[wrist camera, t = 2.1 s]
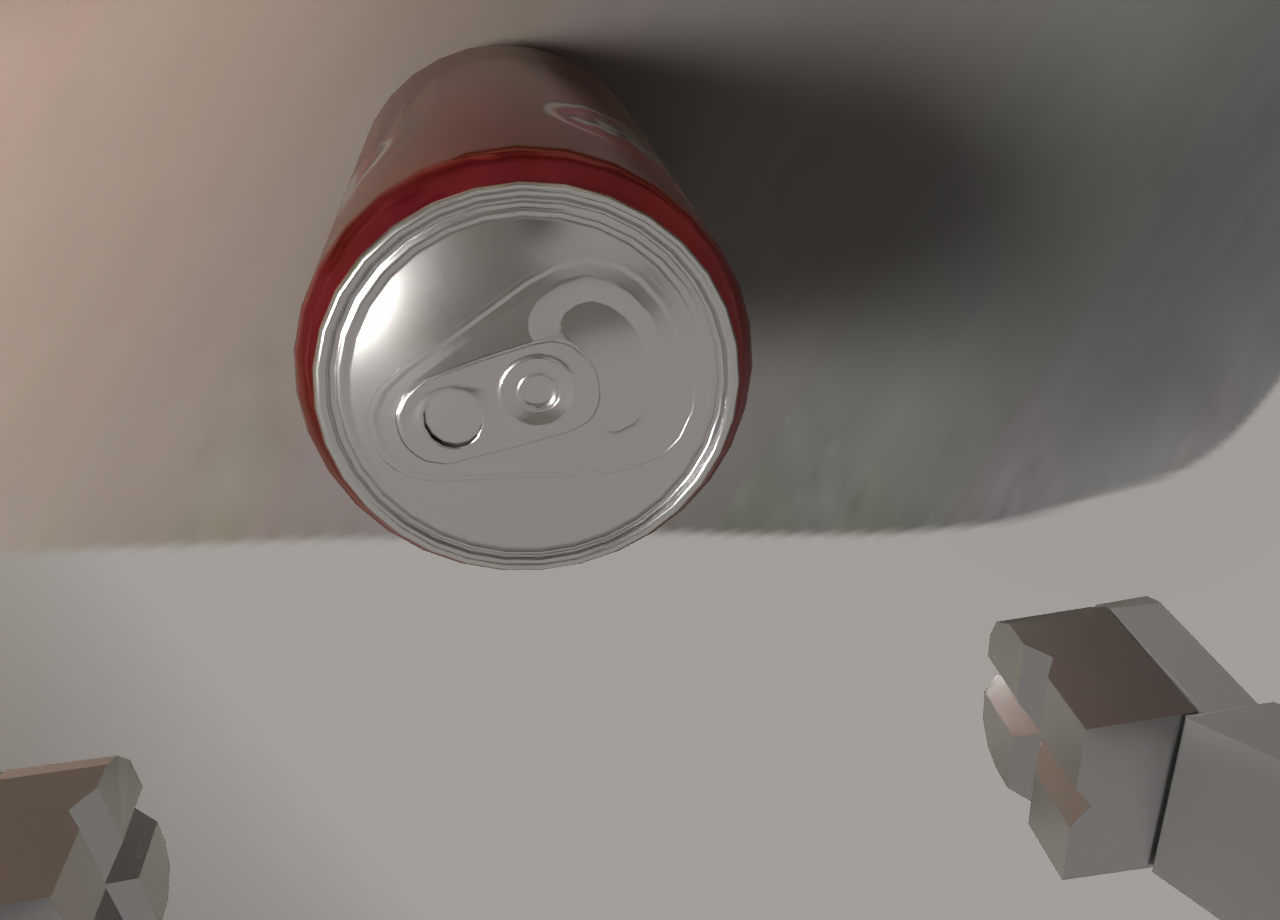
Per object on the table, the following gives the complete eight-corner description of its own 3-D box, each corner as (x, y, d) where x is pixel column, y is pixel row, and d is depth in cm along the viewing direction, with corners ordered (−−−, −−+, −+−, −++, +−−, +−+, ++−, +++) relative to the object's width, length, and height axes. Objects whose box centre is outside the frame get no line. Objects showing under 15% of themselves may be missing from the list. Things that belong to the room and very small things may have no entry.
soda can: (619, 9, 25) (723, 104, 15) (674, 293, 29) (789, 531, 18) (317, 79, 25) (209, 226, 15) (410, 356, 29) (376, 632, 18)
